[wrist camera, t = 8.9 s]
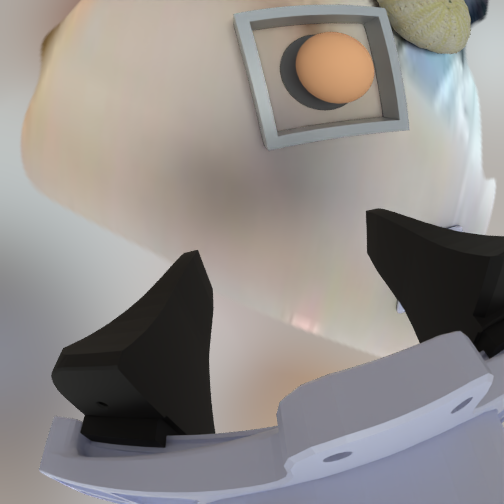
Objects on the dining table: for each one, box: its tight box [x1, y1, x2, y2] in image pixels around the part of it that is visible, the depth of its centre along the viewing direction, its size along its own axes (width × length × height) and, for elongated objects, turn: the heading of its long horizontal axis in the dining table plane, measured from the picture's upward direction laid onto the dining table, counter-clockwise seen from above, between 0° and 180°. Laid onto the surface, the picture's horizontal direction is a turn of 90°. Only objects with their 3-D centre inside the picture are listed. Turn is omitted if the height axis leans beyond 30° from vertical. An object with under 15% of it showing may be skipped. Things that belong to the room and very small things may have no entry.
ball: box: [296, 32, 374, 104], centre depth 14 cm, size 5×5×5 cm
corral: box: [233, 5, 409, 151], centre depth 15 cm, size 10×11×2 cm
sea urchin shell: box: [377, 0, 471, 54], centre depth 11 cm, size 9×8×8 cm
